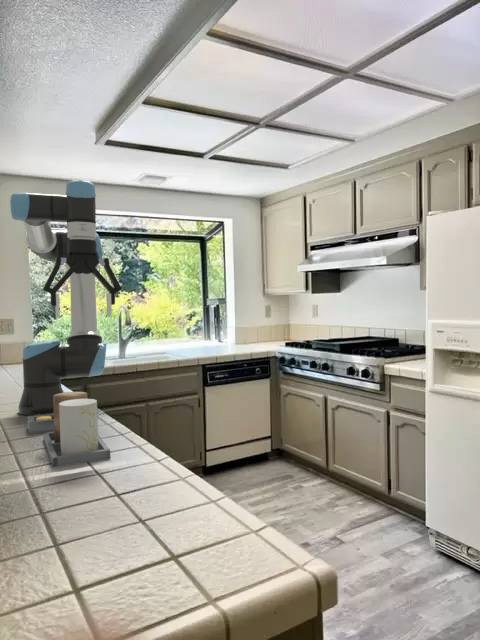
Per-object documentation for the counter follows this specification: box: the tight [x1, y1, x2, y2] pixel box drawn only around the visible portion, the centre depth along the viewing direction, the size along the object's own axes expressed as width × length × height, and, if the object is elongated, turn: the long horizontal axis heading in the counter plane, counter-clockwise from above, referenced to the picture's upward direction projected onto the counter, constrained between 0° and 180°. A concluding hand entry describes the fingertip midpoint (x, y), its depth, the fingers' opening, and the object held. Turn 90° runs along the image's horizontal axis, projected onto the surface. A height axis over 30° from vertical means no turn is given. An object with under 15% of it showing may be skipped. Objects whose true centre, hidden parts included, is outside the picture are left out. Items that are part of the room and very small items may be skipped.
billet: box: [53, 391, 89, 443], centre depth 118 cm, size 8×8×12 cm
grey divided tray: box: [43, 431, 111, 468], centre depth 113 cm, size 23×12×3 cm, turn 27°
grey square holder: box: [27, 413, 54, 435], centre depth 132 cm, size 8×8×4 cm
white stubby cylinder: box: [59, 398, 99, 456], centre depth 108 cm, size 8×8×12 cm
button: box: [36, 416, 52, 421], centre depth 132 cm, size 4×4×3 cm
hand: (84, 317), depth 130 cm, fingers open, 13 cm apart
